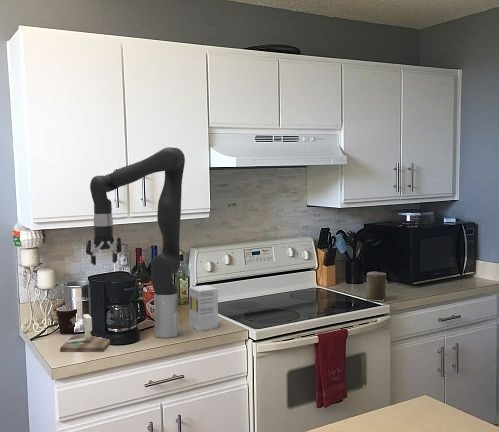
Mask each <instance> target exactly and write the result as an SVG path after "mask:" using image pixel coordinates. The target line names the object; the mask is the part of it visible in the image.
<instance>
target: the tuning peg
mask: <svg viewBox="0 0 499 432" xmlns="http://www.w3.org/2000/svg"><path fill="white" fill-rule="evenodd" d="M82 322H83V325H82V327H83V329H84V335H85V338H84V339H77V340H70V341H68V340H67V341H68V343H71V342H78V341H90V340H91V335H92V334H91V332H92V331H93V318H92V316H91V315H90V314H88V313H85V314H83V315H82Z"/></svg>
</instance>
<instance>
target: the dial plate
mask: <svg viewBox="0 0 499 432" xmlns="http://www.w3.org/2000/svg"><path fill="white" fill-rule="evenodd" d="M92 335H93V334H91V340H90V341H78V342H71V343H68V341H70V340H77V339H84V338H85V334H74V335H72V336H70V338H69V339H68V340H66V342H64V343H63V344H62V346H60V348H59V350H60V352H61V353H62V352H63V353H65V352H66V353H68V352H69V353H70V352H71V353H72V352H73V353H75V352H83V353H84V352H85V353H86V352H88V353H89V352H93V353H95V352H97V353H99V352H101V353H102V352H105V350H106V349H107V348H108V347H109V345H110V344H111V343H110V340H109V339H106V338H102V337H96V336H92Z"/></svg>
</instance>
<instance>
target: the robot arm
mask: <svg viewBox="0 0 499 432" xmlns="http://www.w3.org/2000/svg"><path fill="white" fill-rule="evenodd" d="M185 164H186V159H185V154H184V152H183V151H182V150H181V149H180V148H179V147H172V146H171V147H170V146H169V147H165V148H162V149H160V150H159V151H157V152H155V153H154V154H152V155H150V156H148V157H147V158H145V159H142V160H139V161H137V162H133V163H132V164H128V165H126V166H125V165H124V166H123V167H120V168H117V169H115V170H114V171H112V172H111V173H108V174H104V175H105V176H104V175H95V176H93V178H92V179H91V180H90V185H89V189H90V194H91V198H92V201H93V237H94V238H93V239H86V240H85V241H86V243H85V253H86V255H88V256H90V263H91V264H92V266H97V256H96V255H97V253H98V252H99V251H100V250H110V251H111V252H112V253H111V254H112V255H111V257H112V258H111V259H112V263H113V264H116V263H117V261H118V253H122V239H121V237H119V236H118V237H117V236H116V237H114V222H113V219H114V218H113V214H112V213H113V212H112V211H113V208H112V207H113V206H112V201H111V199H109V198H108V195H107V193H110V192H112V191H115V190H116V189H119V188H121V187H125V186H127V185H129V184H133V183H134V182H137V181H140V180H141V179H143V178H145V177H147V176H149V175H152V174H154V173H155V174H156V173H159V172H160V173H162V172H164V183H163V186H162V189H161V192H160V195H159V199H158V202H157V219H156V220H157V224H158V228H159V231H160V232H161V233H160V235H161V236H162V251H161V253H159V254H157V255H155V256H154V257H153V258H152V260H151V264H150V275H151V276H150V277H151V286H152V288H153V297H154V298H153V300H154V301H153V303H154V307H153V309H154V336H155V337H156V338H162V339H163V338H165V339H169V338H177V337H178V335H179V334H180V333H179V332H180V330H179V328H180V327H179V324H180V322H179V320H180V319H179V309H178V307H179V306H178V286H177V285H176V284H174V282H173V275H174V274H176V273H177V272H178V271H179V269H180V268H181V253H180V252H181V249H180V234H181V233H180V232H181V215H182V193H183V192H182V186H183V185H182V184H183V177H184V170H185ZM113 243H115V246H116V247H115V246H114V245H113ZM93 244H94V246H93ZM92 246H93V248H92Z"/></svg>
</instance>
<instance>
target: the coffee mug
mask: <svg viewBox="0 0 499 432" xmlns="http://www.w3.org/2000/svg"><path fill="white" fill-rule="evenodd" d="M66 306H67V305H64V306H60V307H57V308H56V317H57V324H58V328H59V334H60V335H71V334H75V333H74V327H75V322H76V313H77V309H74V310H69V311H67V309H66Z"/></svg>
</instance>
